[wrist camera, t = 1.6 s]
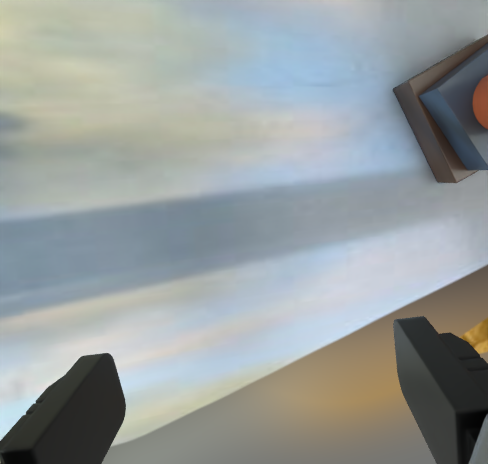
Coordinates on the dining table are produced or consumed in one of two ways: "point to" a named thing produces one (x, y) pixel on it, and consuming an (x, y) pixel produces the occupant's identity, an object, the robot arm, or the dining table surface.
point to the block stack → (449, 113)
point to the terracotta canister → (481, 102)
